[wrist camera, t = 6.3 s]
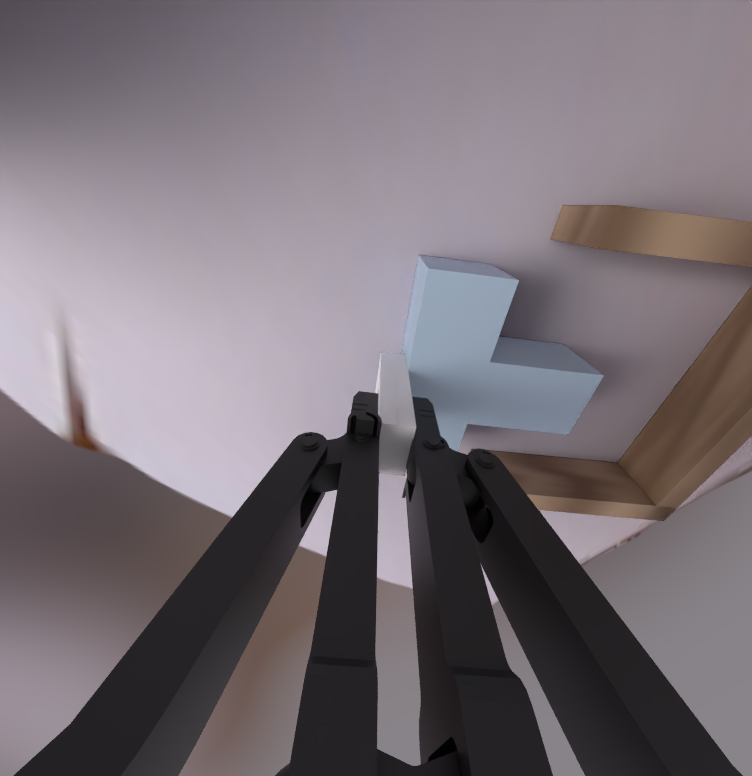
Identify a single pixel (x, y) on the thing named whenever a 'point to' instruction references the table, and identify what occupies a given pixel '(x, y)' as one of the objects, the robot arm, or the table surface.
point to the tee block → (486, 356)
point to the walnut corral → (687, 400)
